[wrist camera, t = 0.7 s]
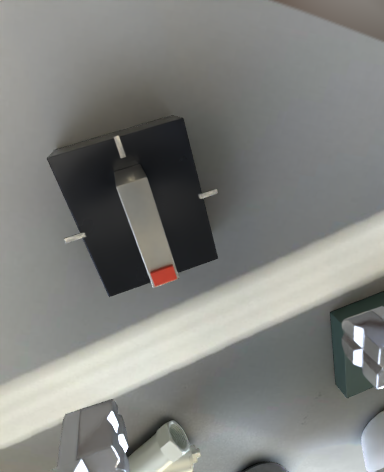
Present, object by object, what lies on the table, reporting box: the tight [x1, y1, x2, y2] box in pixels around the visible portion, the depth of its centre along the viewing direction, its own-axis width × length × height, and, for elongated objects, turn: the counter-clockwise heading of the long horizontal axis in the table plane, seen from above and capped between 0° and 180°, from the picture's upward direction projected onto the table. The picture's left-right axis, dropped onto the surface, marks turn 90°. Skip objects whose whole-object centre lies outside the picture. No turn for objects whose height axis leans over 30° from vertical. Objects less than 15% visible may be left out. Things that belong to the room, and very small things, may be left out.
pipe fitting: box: [128, 420, 200, 472], centre depth 37 cm, size 8×4×7 cm
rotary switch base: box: [47, 115, 218, 297], centre depth 25 cm, size 11×11×4 cm
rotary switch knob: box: [114, 164, 179, 288], centre depth 21 cm, size 7×2×4 cm, turn 15°
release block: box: [330, 292, 384, 398], centre depth 38 cm, size 12×10×4 cm
